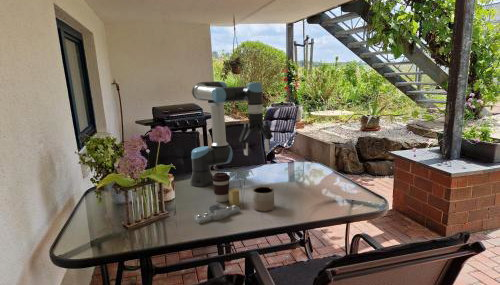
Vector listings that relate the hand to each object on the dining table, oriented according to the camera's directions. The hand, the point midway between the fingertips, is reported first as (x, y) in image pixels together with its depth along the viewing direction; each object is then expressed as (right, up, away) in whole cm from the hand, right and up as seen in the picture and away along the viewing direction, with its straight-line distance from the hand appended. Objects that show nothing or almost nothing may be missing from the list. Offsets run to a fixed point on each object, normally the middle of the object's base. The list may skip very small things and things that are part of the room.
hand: (256, 153), depth 167 cm
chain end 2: (-15, -29, -10) cm, 34 cm away
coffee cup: (-19, -26, +8) cm, 33 cm away
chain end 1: (-24, -31, -16) cm, 42 cm away
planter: (+4, -28, -5) cm, 29 cm away
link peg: (-12, -27, +1) cm, 30 cm away
